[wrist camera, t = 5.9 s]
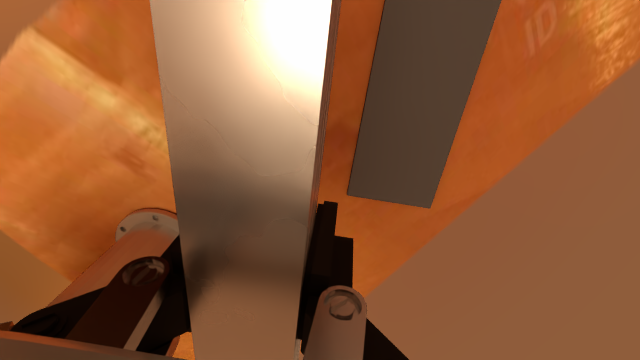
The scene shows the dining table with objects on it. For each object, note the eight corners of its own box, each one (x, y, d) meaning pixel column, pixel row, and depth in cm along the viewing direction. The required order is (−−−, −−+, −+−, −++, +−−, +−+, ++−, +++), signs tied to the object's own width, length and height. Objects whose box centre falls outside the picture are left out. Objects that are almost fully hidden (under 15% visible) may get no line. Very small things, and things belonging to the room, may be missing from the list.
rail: (290, 428, 17) (277, 506, 14) (235, 418, 17) (212, 493, 14) (372, -261, 6) (386, -514, 3) (209, -275, 6) (83, -524, 3)
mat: (429, 205, 38) (430, 208, 37) (347, 192, 38) (347, 195, 38) (513, -43, 27) (516, -44, 26) (396, -60, 27) (397, -61, 26)
